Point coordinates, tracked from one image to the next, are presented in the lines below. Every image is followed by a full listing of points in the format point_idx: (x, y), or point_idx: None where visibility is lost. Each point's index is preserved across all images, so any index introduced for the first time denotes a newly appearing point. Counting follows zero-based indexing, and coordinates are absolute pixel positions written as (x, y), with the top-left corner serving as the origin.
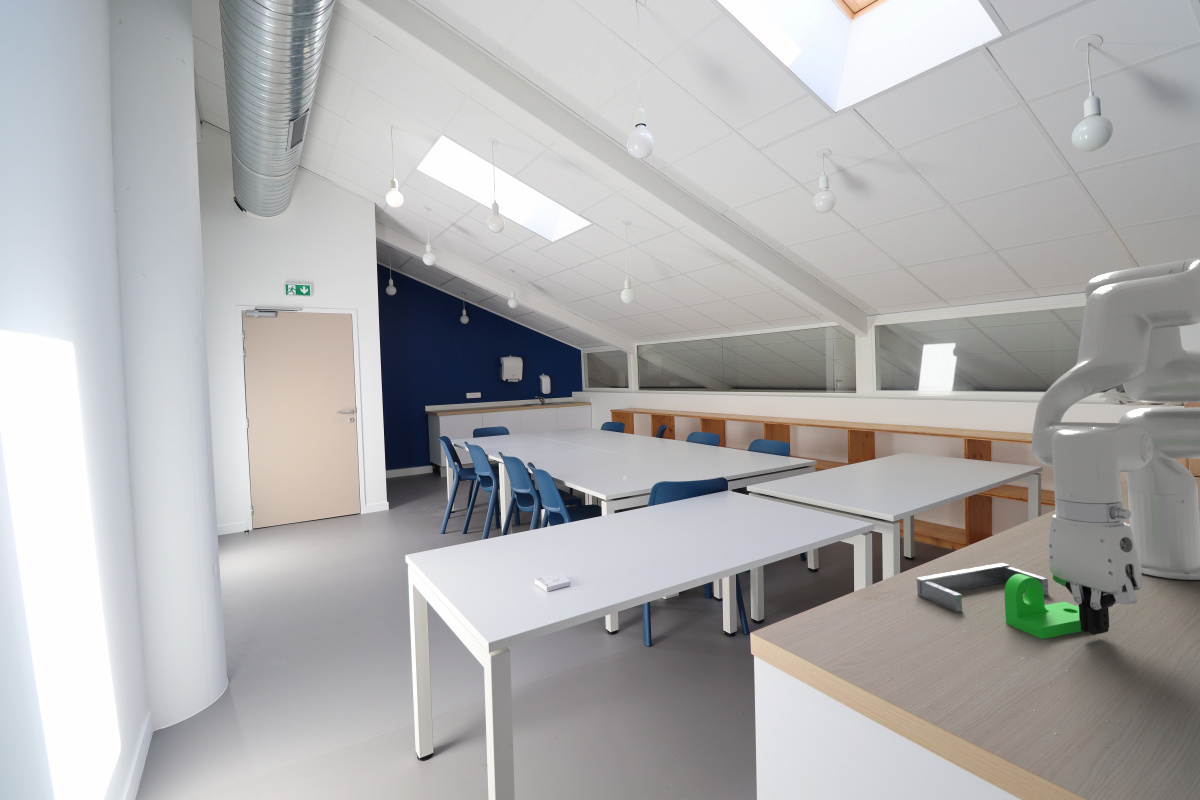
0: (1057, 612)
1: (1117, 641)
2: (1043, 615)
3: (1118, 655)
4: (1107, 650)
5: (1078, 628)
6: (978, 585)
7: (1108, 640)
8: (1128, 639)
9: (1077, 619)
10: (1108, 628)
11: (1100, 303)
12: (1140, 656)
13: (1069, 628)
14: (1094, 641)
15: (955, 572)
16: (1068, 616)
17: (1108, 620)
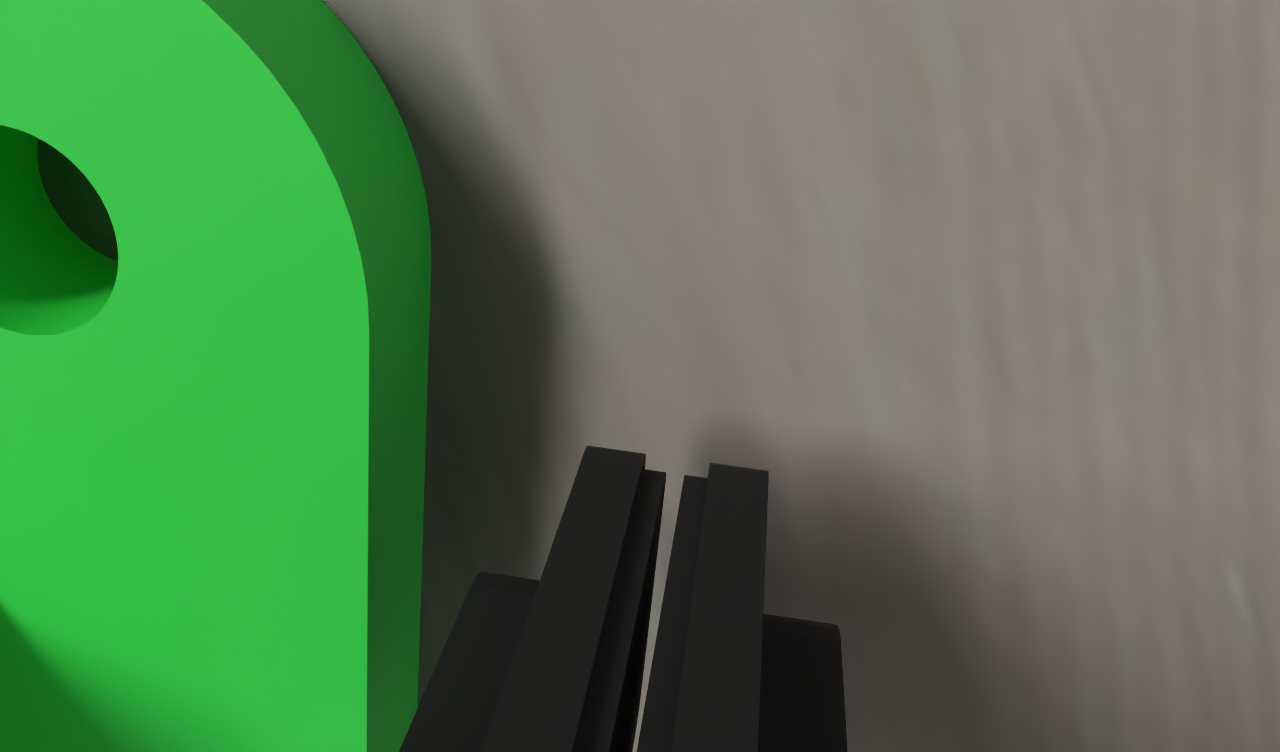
0: (24, 476)
1: (858, 355)
2: (70, 724)
3: (1060, 740)
4: (923, 705)
5: (408, 467)
6: None
7: (777, 418)
8: (911, 149)
9: (334, 507)
10: (764, 476)
11: None
12: (1240, 586)
13: (399, 628)
14: None
15: None
16: (199, 497)
17: (844, 724)
